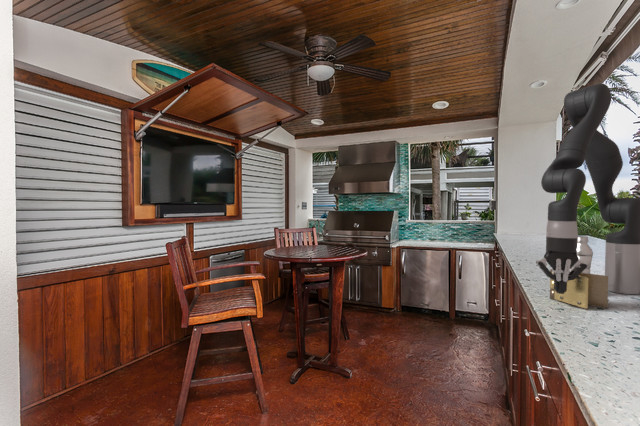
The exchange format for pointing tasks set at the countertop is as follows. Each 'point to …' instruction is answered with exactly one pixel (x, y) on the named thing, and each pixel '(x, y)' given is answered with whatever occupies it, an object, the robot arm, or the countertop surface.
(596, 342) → the countertop surface
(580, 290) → the plate
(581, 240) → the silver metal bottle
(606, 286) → the hinge mount
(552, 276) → the robot arm
